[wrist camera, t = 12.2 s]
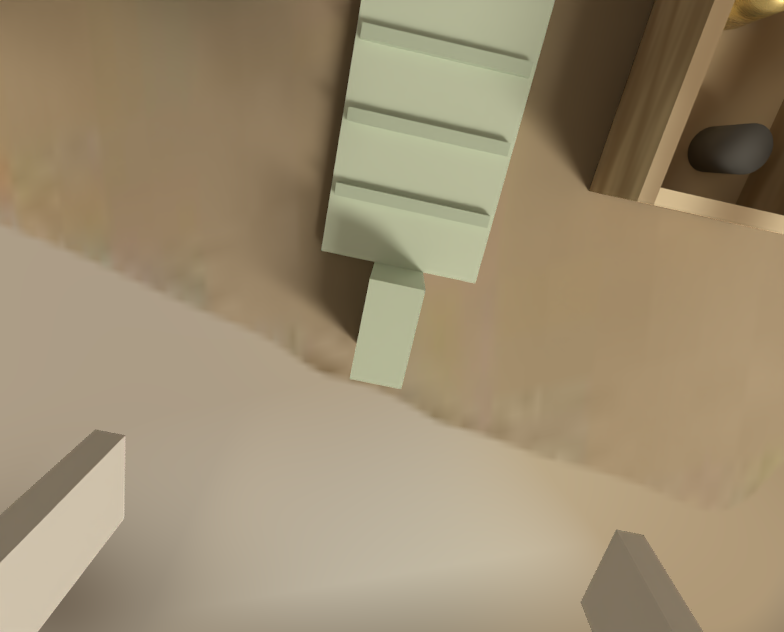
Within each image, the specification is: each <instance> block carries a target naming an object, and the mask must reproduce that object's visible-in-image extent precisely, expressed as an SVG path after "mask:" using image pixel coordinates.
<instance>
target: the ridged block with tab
mask: <svg viewBox="0 0 784 632" xmlns="http://www.w3.org/2000/svg"><path fill="white" fill-rule="evenodd" d="M554 2H555V0H361V5H360V11H359V18H358V24H357V30H356V36H355V43H354V49H353V55H352V61H351V67H350V74H349V80H348V86H347V92H346V99H345V105H344V111H343V117H342V124H341V130H340V136H339V142H338V148H337V155H336V161H335V167H334V173H333V180H332V186H331V192H330V198H329V205H328V211H327V217H326V223H325V229H324V236H323V242H322V248H321V251H326V252H330V253H335V254H340V255H344V256H349V257H354V258H358V259H363V260H368V261H372V262H374V266H373V269H372V273H371V276H370V280H369V285H368V290H367V295H366V300H365V305H364V310H363V315H362V320H361V325H360V330H359V335H358V340H357V345H356V350H355V355H354V360H353V364H352V369H351V374H350V379H353V380H358V381H363V382H368V383H373V384H378V385H383V386H388V387H393V388H398V389H401V388H402V384H403V380H404V376H405V372H406V368H407V363H408V359H409V355H410V351H411V347H412V343H413V339H414V335H415V331H416V327H417V323H418V319H419V315H420V310H421V306H422V302H423V298H424V294H425V284H424V277H423V272H424V273H429V274H433V275H438V276H443V277H447V278H452V279H457V280H462V281H466V282H471V283H475V282H476V279H477V275H478V272H479V268H480V265H481V261H482V258H483V254H484V251H485V247H486V243H487V240H488V236H489V233H490V229H491V226H492V222H493V219H494V215H495V211H496V208H497V204H498V201H499V197H500V194H501V190H502V187H503V183H504V180H505V176H506V172H507V169H508V165H509V162H510V158H511V155H512V151H513V148H514V144H515V141H516V137H517V133H518V130H519V126H520V123H521V119H522V116H523V112H524V109H525V105H526V101H527V98H528V94H529V91H530V87H531V84H532V80H533V77H534V73H535V70H536V66H537V62H538V59H539V55H540V52H541V48H542V45H543V41H544V38H545V34H546V31H547V27H548V23H549V20H550V16H551V13H552V9H553V6H554Z"/></svg>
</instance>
